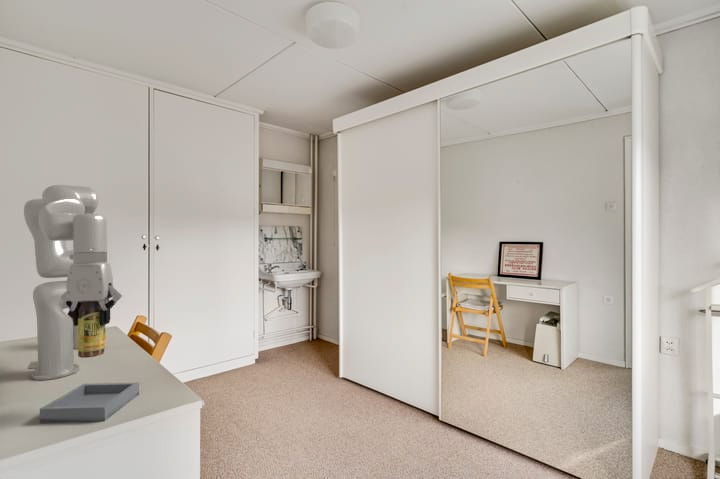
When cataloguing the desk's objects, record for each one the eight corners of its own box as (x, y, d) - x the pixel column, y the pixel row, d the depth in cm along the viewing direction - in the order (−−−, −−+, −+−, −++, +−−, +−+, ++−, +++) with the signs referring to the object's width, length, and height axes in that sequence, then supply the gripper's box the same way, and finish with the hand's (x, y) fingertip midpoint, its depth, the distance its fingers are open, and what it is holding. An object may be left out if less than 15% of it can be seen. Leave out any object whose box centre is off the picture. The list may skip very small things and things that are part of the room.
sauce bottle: (83, 360, 99) (81, 285, 98) (73, 356, 102) (71, 283, 102) (111, 353, 104) (109, 282, 104) (100, 350, 108) (98, 280, 107)
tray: (40, 422, 95) (39, 409, 95) (83, 395, 111) (83, 383, 111) (104, 420, 96) (104, 407, 96) (139, 394, 112) (139, 382, 112)
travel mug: (82, 349, 156) (81, 306, 156) (63, 349, 157) (62, 306, 156) (96, 343, 164) (95, 302, 164) (78, 343, 165) (77, 302, 164)
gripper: (47, 260, 99) (48, 328, 99) (114, 259, 99) (115, 327, 100) (68, 258, 106) (69, 321, 106) (130, 257, 107) (132, 320, 107)
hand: (91, 323), depth 103 cm, fingers closed on sauce bottle, 6 cm apart
